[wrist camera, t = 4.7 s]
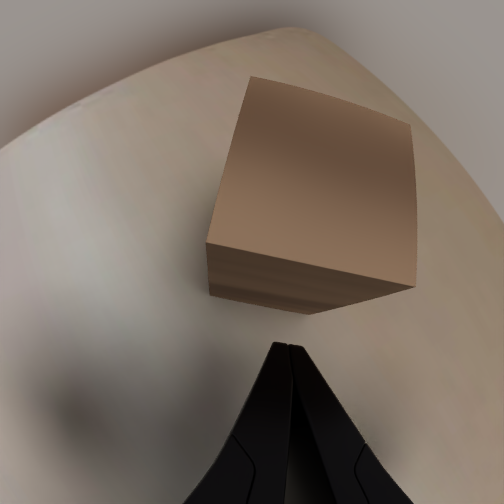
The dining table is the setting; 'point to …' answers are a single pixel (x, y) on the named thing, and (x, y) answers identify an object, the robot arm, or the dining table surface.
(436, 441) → the dining table surface
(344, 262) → the walnut block
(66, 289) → the dining table surface
